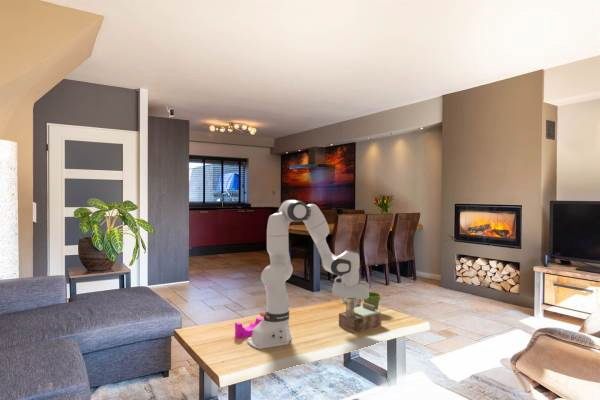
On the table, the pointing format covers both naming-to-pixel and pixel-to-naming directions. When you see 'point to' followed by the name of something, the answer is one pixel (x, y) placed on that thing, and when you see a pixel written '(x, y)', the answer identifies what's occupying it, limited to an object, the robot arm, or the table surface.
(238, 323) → the toy block
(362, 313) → the lid
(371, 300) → the plant pot
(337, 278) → the robot arm
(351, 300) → the wooden block
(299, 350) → the table surface
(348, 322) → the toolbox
